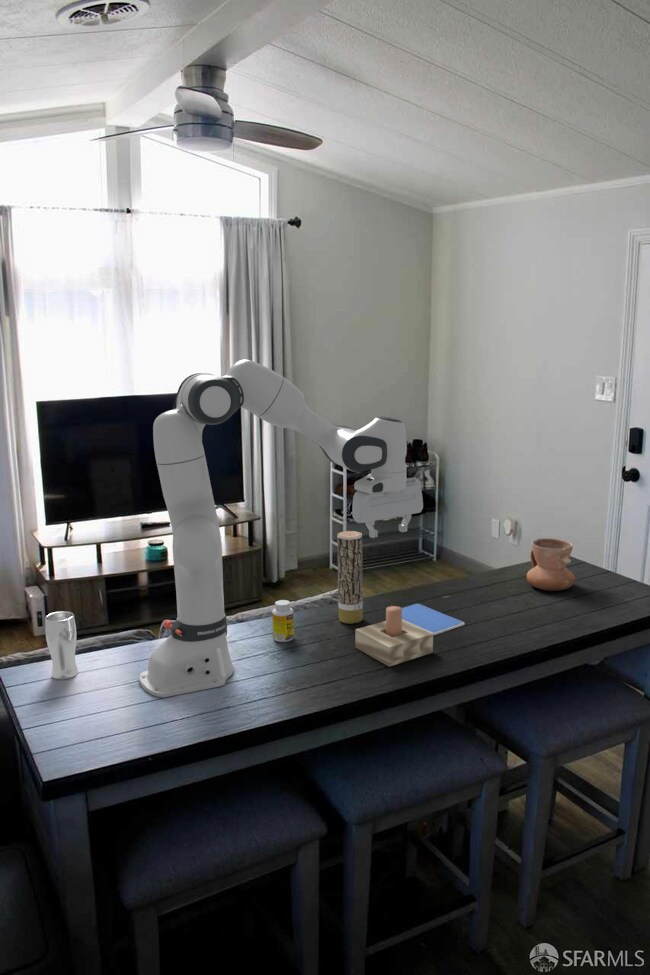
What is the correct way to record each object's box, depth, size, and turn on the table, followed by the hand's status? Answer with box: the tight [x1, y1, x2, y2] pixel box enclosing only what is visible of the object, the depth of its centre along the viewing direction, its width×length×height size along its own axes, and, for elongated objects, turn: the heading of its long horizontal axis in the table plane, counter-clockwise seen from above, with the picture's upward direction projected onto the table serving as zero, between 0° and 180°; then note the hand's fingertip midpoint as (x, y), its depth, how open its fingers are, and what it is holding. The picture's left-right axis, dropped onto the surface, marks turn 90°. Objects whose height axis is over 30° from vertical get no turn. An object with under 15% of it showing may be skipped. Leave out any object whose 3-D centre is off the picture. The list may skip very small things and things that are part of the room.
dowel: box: [385, 605, 403, 637], centre depth 202 cm, size 4×4×10 cm
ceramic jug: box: [526, 537, 576, 592], centre depth 247 cm, size 18×14×14 cm
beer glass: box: [44, 610, 79, 681], centre depth 192 cm, size 7×7×15 cm
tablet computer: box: [401, 603, 466, 636], centre depth 223 cm, size 19×13×1 cm, turn 37°
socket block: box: [354, 619, 434, 667], centre depth 203 cm, size 14×14×5 cm
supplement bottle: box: [271, 599, 295, 643], centre depth 211 cm, size 6×6×10 cm
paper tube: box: [336, 530, 364, 625], centre depth 221 cm, size 7×7×25 cm
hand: (388, 534), depth 203 cm, fingers open, 8 cm apart
